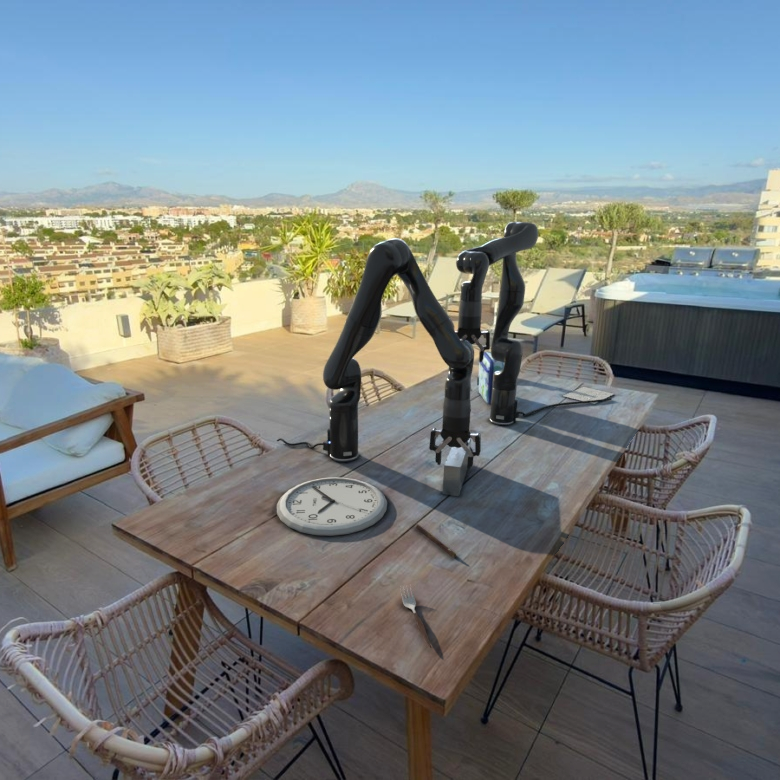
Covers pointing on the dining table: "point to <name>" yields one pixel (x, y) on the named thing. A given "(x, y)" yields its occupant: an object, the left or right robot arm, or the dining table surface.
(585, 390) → the invitation card
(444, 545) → the brown wooden stick
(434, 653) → the dining table surface
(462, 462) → the bar
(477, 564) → the dining table surface
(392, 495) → the dining table surface
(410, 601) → the fork
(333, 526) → the wall clock
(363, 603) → the dining table surface
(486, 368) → the lunch box
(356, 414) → the left robot arm
